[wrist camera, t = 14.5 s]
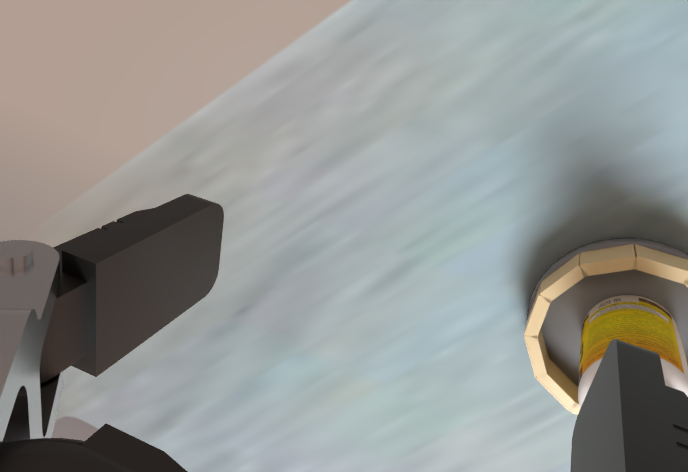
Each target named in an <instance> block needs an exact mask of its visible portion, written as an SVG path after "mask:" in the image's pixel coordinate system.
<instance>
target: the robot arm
mask: <svg viewBox="0 0 688 472" xmlns="http://www.w3.org/2000/svg"><path fill="white" fill-rule="evenodd" d="M223 220H224V213H223V209H222V207H221V205H219V204H217V203H214V202H211V201H208V200H205V199H202V198H199V197H196V196H193V195H190V194H185V195H183V196H181V197H178V198H176V199H174V200H172V201H170V202H167V203H165V204H163V205H161V206H158V207H156V208H152V209H147V210H141V211H136V212H133V213H131V214H129V215H126V216H124V217H122V218H120V219H117V222H114V221H113V222H111V223H108V224H106V225H104V226H102V228H101V229H100V228H97V229H95V230H92V231H90V232H88V233H86V234H83V235H81V236H79V237H76V238H74V239H72V240H70V241H67V242H65V243H63V244H61V245H58V246H56V247H54V248H53V247H51V246H49V245H46V244H44V243H40V242H35V241H27V240H11V241H3V242H0V472H187V471H186V470H185V469H184V468H182V467H181V466H180V465H179V464H178V463H177V462H176V461H174V460H173V459H172V458H171V457H170V456H169V455H167V454H166V453H165V452H164V451H162V450H160V449H158V448H156V447H154V446H151V445H149V444H147V443H145V442H143V441H141V440H139V439H137V438H135V437H133V436H131V435H129V434H127V433H125V432H122V431H120V430H118V429H116V428H114V427H112V426H110V425H108V424H105V425H104V426H102V427H101V428H100V429H99V430H98V431H97V432H95V433H94V434H93V435H92V436H91V437H90V438H88V439H87V440H86V441H81V440H73V439H63V438H52V434H53V429H54V425H55V420H56V416H57V411H58V406H59V402H60V397H61V393H62V388H63V370H65V369H66V368H68V367H69V366H73V367H76V368H78V369H80V370H82V371H84V372H86V373H89V374H91V375H93V376H95V377H97V376H98V375H99V374H101V373H102V372H103V371H105V370H106V369H108V368H109V367H110V366H112V365H113V364H114V363H116V362H117V361H118V360H120V359H121V358H122V357H124V356H125V355H127V354H128V353H129V352H131V351H132V350H133V349H135V348H136V347H137V346H139V345H140V344H141V343H143V342H144V341H146V340H147V339H148V338H150V337H151V336H152V335H154V334H155V333H156V332H158V331H159V330H160V329H162V328H163V327H164V326H166V325H167V324H169V323H170V322H171V321H173V320H174V319H175V318H177V317H178V316H179V315H181V314H182V313H183V312H185V311H186V310H188V309H189V308H190V307H192V306H193V305H194V304H196V303H197V302H198V301H200V300H201V299H202V298H204V297H205V296H206V295H207V294H208V293H209V292H210V290H211V289H212V287H213V285H214V283H215V281H216V278H217V275H218V270H219V260H220V250H221V240H222V230H223ZM571 472H688V397H687V395H686V394H685V393H684V392H683V391H680V390H677V389H674V388H672V387H669V386H666V385H665V380H664V375H663V370H662V364H661V359H660V355H659V354H658V353H656V352H653V351H650V350H647V349H644V348H641V347H638V346H635V345H632V344H629V343H626V342H623V341H620V340H617V339H613V340H612V341H611V342H610V344H609V345H608V347H607V349H606V351H605V354H604V356H603V358H602V361H601V363H600V365H599V367H598V370H597V372H596V374H595V376H594V379H593V381H592V383H591V385H590V388H589V390H588V392H587V395H586V397H585V399H584V401H583V404H582V406H581V408H580V411H579V414H578V417H577V420H576V424H575V428H574V432H573V438H572V454H571Z"/></svg>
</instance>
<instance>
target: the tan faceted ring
mask: <svg viewBox="0 0 688 472" xmlns="http://www.w3.org/2000/svg"><path fill="white" fill-rule="evenodd" d="M620 295H635V296H641V297H644V298H647V299H650V300H652V301H654V302H656V303H658V304H659V305H661V306H662V307H663V308H665V309H666V310H667V311H668V312H669V313H670V314H671V316H672V317H673V319H674V320H675V322H676V324H677V327H678V330H679V333H680V337H681V341H682V345H683V349H684V352H685V356H686V360H687V364H688V254H686V253H684V252H682V251H680V250H678V249H676V248H674V247H671V246H668V245H665V244H662V243H659V242H654V241H650V240H644V239H635V238H617V239H608V240H602V241H598V242H594V243H590V244H588V245H585V246H582V247H579V248H577V249H575V250H573V251H571V252H569V253H568V254H566V255H565V256H563V257H562V258H560V259H559V260H558V261H556V262H555V263H554V264H553V265H552V266H551V267H550V268H549V269H548V270H547V271H546V272H545V273H544V275H543V276H542V277H541V279H540V280H539V282H538V284H537V285H536V287H535V290H534V292H533V294H532V298H531V301H530V305H529V309H528V317H527V324H526V328H525V333H524V338H525V342H526V346H527V349H528V353H529V357H530V361H531V364H532V368H533V372H534V375H535V377H536V379H537V380H538V381H539V382H540V383H541V384H542V385H543V386H544V387H545V388H546V389H547V390H548V391H549V392H550V393H551V394H552V395H553V396H554V397H555V398H556V399H557V400H558V401H559V402H560V403H561V404H562V405H563V406H564V407H565V408H566V409H567V410H568V411H569V410H570V412H571V413H574V414H576V415H578V414H579V411H580V405H579V401H578V381H579V363H580V345H581V331H582V325H583V322H584V319H585V317H586V316H587V314H588V313H589V311H590V310H591V309H592V308H593V307H594V306H595V305H597V304H598V303H600V302H601V301H603V300H605V299H608V298H611V297H614V296H620Z"/></svg>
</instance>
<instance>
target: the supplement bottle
mask: <svg viewBox="0 0 688 472" xmlns="http://www.w3.org/2000/svg"><path fill="white" fill-rule="evenodd" d="M613 339H617V340H620V341H623V342H626V343H629V344H632V345H635V346H638V347H641V348H644V349H647V350H650V351H653V352H656V353H658V354H659V355H660V359H661V364H662V370H663V375H664V380H665V385H666V386H669V387H672V388H674V389H677V390H680V391H683V392H684V393H685V394H686V395H687V397H688V364H687V360H686V356H685V352H684V349H683V345H682V341H681V337H680V333H679V330H678V327H677V324H676V322H675V320H674V319H673V317H672V316H671V314H670V313H669V312H668V311H667V310H666V309H665V308H663V307H662V306H661V305H659V304H658V303H656V302H654V301H652V300H650V299H647V298H644V297H641V296H635V295H620V296H614V297H611V298H608V299H605V300H603V301H601V302H600V303H598V304H597V305H595V306H594V307H593V308H592V309H591V310H590V311H589V313H588V314H587V316H586V317H585V319H584V322H583V325H582V331H581V345H580V363H579V381H578V401H579V405H580V408H581V406H582V404H583V401H584V399H585V397H586V395H587V392H588V390H589V388H590V385H591V383H592V381H593V379H594V376H595V374H596V372H597V370H598V367H599V365H600V363H601V361H602V358H603V356H604V354H605V351H606V349H607V347H608V345H609V344H610V342H611V341H612V340H613Z"/></svg>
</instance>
